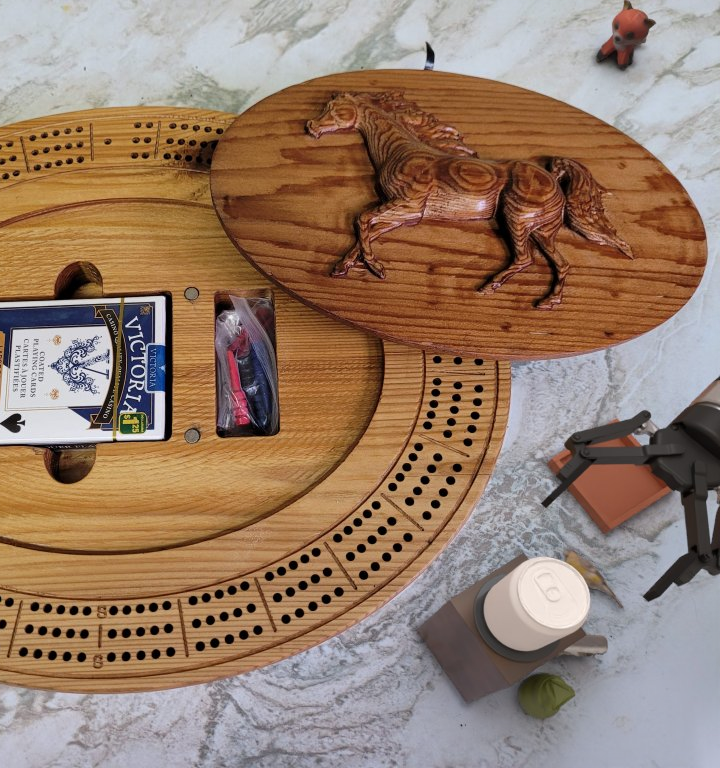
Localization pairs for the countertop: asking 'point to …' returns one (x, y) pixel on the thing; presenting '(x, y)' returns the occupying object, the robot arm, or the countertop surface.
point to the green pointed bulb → (544, 694)
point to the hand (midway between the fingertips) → (597, 548)
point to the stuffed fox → (626, 34)
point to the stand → (477, 645)
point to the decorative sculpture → (595, 581)
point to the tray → (613, 486)
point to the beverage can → (537, 604)
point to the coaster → (493, 641)
